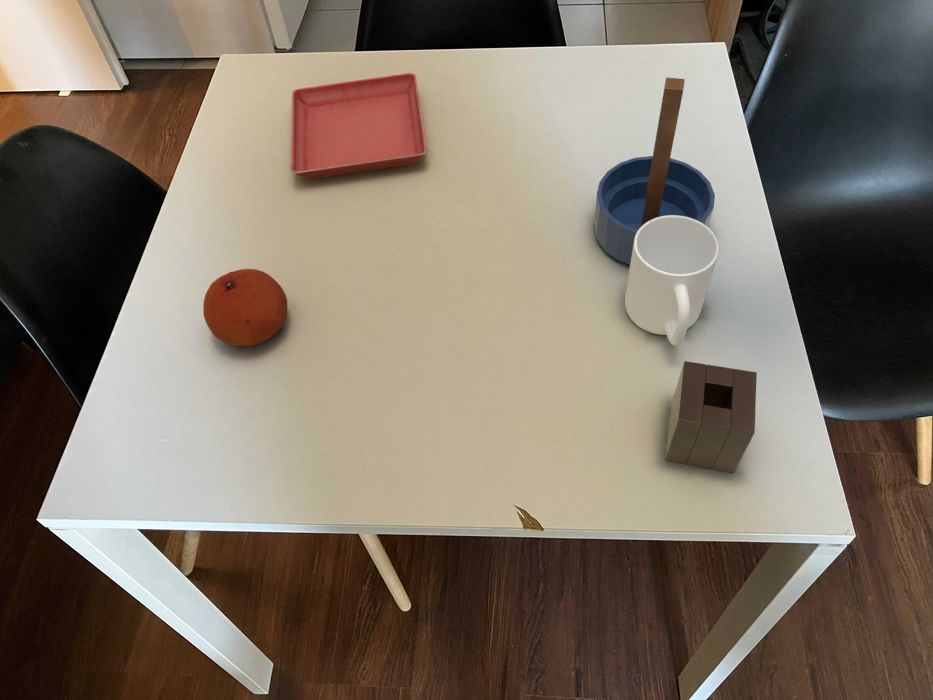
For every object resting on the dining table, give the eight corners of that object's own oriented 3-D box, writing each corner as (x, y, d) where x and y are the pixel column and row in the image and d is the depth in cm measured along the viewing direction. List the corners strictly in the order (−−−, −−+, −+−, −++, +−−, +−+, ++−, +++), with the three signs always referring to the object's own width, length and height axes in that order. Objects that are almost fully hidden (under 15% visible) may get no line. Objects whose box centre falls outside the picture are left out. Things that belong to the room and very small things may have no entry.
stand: (736, 415, 72) (756, 372, 65) (733, 473, 68) (754, 433, 62) (670, 404, 73) (684, 360, 66) (664, 460, 70) (678, 419, 63)
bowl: (707, 200, 89) (717, 162, 84) (700, 279, 82) (710, 242, 77) (602, 188, 92) (606, 151, 87) (586, 263, 85) (589, 227, 80)
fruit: (218, 366, 80) (190, 323, 74) (218, 306, 85) (192, 261, 79) (296, 350, 81) (275, 306, 74) (292, 291, 86) (272, 245, 79)
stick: (656, 224, 87) (685, 78, 70) (655, 235, 86) (683, 89, 69) (641, 223, 87) (666, 77, 71) (639, 233, 86) (664, 88, 70)
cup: (692, 277, 82) (710, 212, 74) (713, 364, 75) (735, 303, 67) (619, 280, 83) (629, 217, 74) (633, 367, 76) (645, 308, 68)
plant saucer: (430, 172, 96) (427, 152, 93) (296, 191, 96) (289, 172, 93) (418, 91, 106) (415, 71, 104) (297, 108, 106) (291, 89, 104)
